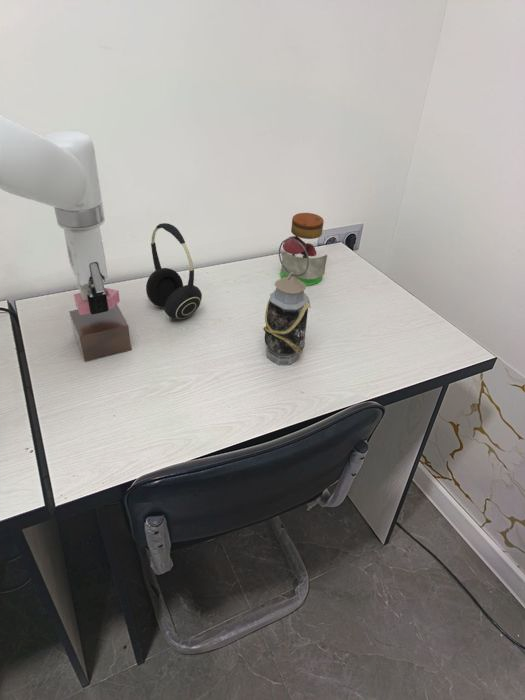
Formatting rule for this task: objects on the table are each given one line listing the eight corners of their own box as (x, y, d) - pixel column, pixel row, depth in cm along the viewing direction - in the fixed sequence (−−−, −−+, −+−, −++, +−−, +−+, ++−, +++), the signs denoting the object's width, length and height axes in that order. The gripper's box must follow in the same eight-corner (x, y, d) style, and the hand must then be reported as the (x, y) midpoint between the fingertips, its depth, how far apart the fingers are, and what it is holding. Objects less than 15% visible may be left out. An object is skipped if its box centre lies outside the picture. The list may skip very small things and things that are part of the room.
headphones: (172, 290, 115) (167, 208, 103) (211, 320, 107) (210, 234, 94) (140, 302, 110) (130, 217, 98) (177, 334, 102) (172, 245, 90)
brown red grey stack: (270, 264, 128) (274, 209, 118) (317, 263, 130) (325, 208, 121) (279, 288, 119) (284, 230, 109) (329, 286, 121) (339, 229, 112)
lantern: (311, 356, 99) (330, 241, 83) (285, 374, 94) (299, 256, 79) (279, 337, 103) (291, 224, 88) (252, 353, 98) (259, 237, 83)
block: (84, 362, 93) (79, 336, 90) (74, 335, 99) (69, 311, 96) (131, 350, 97) (128, 325, 93) (118, 325, 103) (115, 301, 99)
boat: (80, 315, 90) (75, 293, 87) (75, 305, 93) (71, 282, 90) (122, 306, 93) (119, 284, 90) (117, 296, 96) (113, 274, 93)
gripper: (46, 197, 86) (66, 288, 97) (66, 237, 74) (86, 335, 86) (91, 192, 89) (105, 280, 100) (116, 229, 77) (129, 325, 89)
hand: (96, 305), depth 93 cm, fingers closed on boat, 3 cm apart
